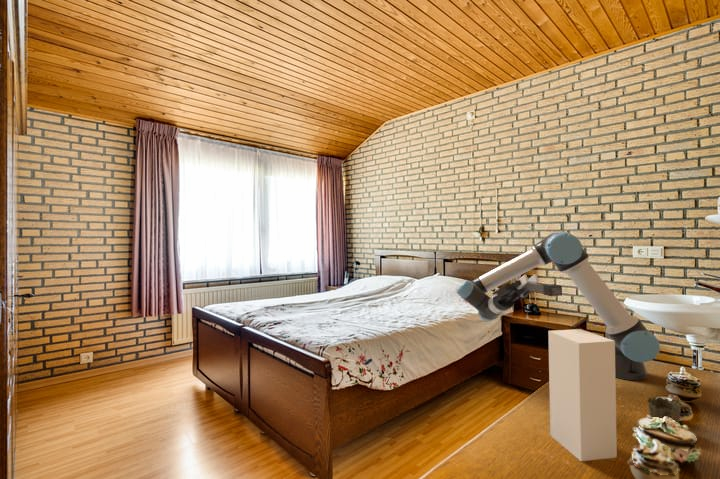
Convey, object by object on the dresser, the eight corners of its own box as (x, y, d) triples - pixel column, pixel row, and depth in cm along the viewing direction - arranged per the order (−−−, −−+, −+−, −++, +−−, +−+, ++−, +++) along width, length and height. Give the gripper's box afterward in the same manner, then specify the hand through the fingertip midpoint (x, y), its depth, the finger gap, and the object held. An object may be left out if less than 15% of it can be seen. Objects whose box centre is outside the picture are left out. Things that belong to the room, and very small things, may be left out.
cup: (642, 426, 106) (641, 399, 106) (657, 421, 109) (656, 394, 109) (672, 439, 100) (671, 410, 100) (687, 433, 103) (686, 405, 102)
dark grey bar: (524, 286, 130) (524, 278, 130) (562, 295, 110) (561, 285, 110) (513, 287, 129) (513, 278, 129) (549, 296, 110) (549, 286, 110)
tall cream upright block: (582, 432, 104) (580, 328, 104) (616, 457, 92) (614, 340, 92) (550, 435, 103) (548, 330, 103) (581, 461, 91) (578, 343, 91)
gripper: (523, 309, 141) (557, 287, 121) (484, 311, 139) (512, 289, 119) (517, 291, 145) (549, 267, 125) (479, 293, 143) (506, 268, 123)
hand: (531, 278), depth 122 cm, fingers closed on dark grey bar, 3 cm apart
